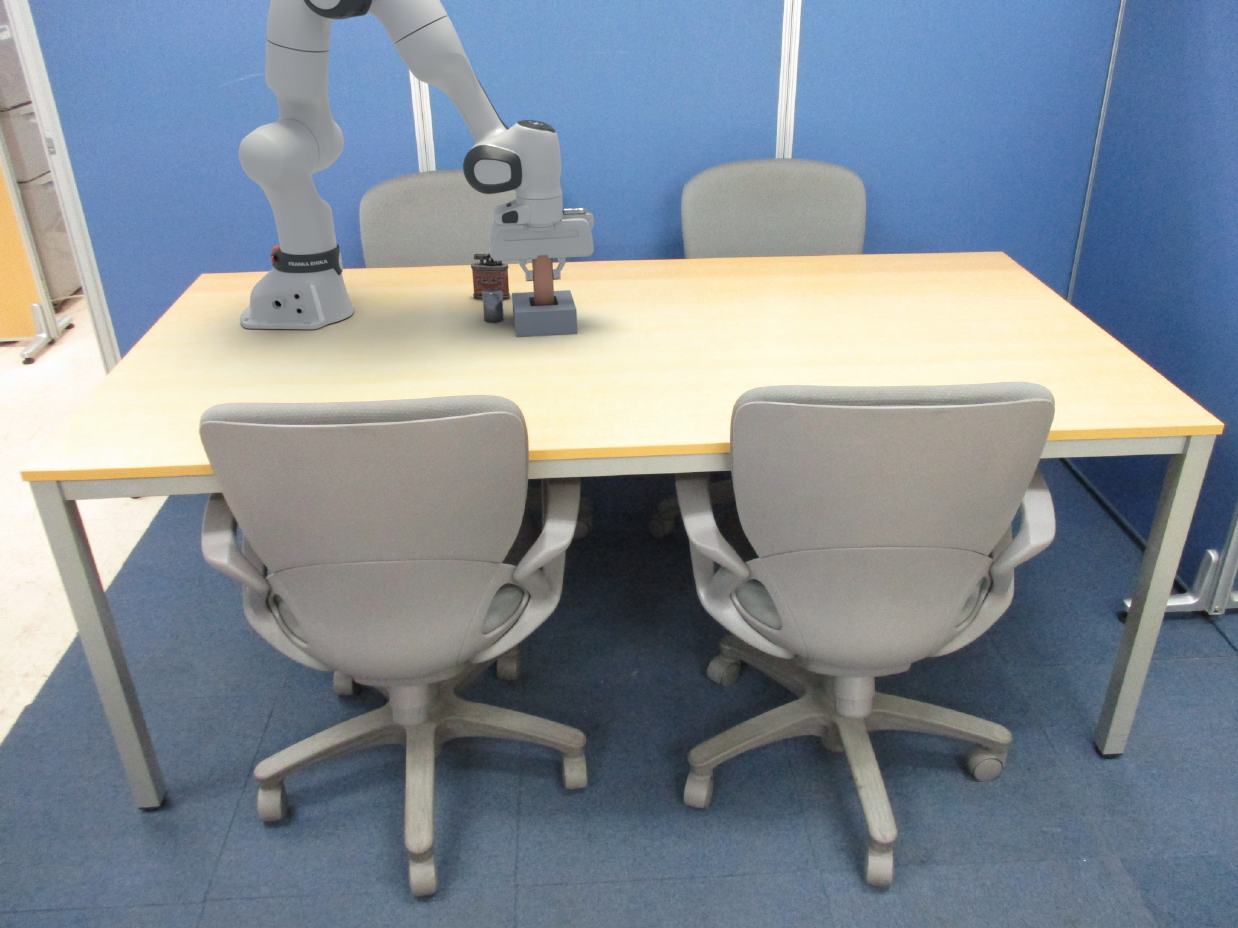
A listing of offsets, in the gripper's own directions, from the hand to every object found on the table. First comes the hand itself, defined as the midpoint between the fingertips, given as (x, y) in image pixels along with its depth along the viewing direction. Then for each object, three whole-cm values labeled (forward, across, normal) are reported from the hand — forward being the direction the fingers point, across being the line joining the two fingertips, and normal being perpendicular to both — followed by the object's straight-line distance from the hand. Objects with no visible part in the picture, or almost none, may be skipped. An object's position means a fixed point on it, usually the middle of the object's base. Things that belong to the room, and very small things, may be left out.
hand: (543, 279), depth 196 cm
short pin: (+9, +10, -5) cm, 15 cm away
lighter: (+10, +10, -19) cm, 23 cm away
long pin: (+6, 0, 0) cm, 6 cm away
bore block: (+9, 0, 0) cm, 9 cm away
